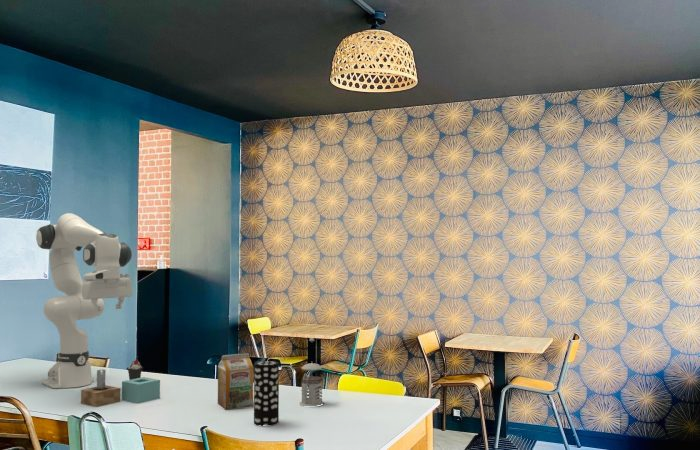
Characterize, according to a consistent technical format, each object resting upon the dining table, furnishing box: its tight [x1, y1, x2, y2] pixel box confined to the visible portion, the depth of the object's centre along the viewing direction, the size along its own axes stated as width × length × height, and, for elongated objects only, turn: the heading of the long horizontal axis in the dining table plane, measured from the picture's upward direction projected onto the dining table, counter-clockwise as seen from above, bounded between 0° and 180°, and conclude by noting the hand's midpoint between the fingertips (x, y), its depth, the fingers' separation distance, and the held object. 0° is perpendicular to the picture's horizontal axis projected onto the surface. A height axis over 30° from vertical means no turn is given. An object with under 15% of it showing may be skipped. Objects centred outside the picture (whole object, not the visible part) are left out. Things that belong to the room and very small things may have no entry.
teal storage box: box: [121, 376, 161, 404], centre depth 236 cm, size 10×10×8 cm
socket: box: [80, 384, 122, 408], centre depth 231 cm, size 10×10×6 cm
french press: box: [298, 337, 325, 407], centre depth 232 cm, size 10×12×25 cm
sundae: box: [125, 356, 144, 380], centre depth 251 cm, size 7×7×15 cm
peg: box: [96, 369, 106, 391], centre depth 231 cm, size 3×3×12 cm
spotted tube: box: [253, 360, 280, 427], centre depth 207 cm, size 8×8×20 cm
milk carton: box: [217, 352, 254, 411], centre depth 231 cm, size 11×11×19 cm
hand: (108, 309), depth 238 cm, fingers open, 8 cm apart
